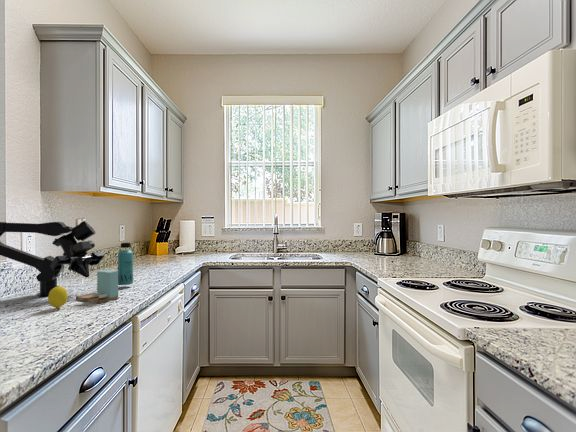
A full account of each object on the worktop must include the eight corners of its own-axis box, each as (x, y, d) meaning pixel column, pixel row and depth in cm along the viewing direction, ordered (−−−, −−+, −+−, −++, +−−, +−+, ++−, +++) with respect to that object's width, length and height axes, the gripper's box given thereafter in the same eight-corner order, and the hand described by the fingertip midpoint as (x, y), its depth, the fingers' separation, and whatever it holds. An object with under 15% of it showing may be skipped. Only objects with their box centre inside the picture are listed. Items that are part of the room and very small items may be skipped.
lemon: (57, 311, 111) (57, 287, 111) (44, 310, 112) (43, 286, 112) (71, 307, 116) (71, 284, 116) (58, 306, 117) (58, 283, 117)
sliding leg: (89, 297, 124) (89, 272, 124) (105, 294, 130) (105, 269, 130) (96, 298, 123) (96, 273, 123) (111, 294, 129) (111, 270, 129)
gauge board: (75, 299, 126) (75, 296, 126) (94, 295, 133) (94, 292, 133) (100, 303, 121) (100, 299, 121) (118, 298, 128) (118, 295, 128)
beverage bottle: (113, 287, 147) (113, 242, 147) (126, 285, 153) (126, 241, 153) (124, 289, 144) (124, 243, 144) (136, 286, 150) (136, 242, 150)
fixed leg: (96, 298, 123) (96, 273, 123) (111, 294, 129) (111, 270, 129) (102, 299, 122) (102, 273, 122) (118, 295, 128) (118, 271, 128)
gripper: (55, 235, 125) (73, 266, 120) (101, 233, 142) (118, 260, 137) (42, 254, 128) (59, 286, 124) (89, 250, 145) (105, 277, 140)
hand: (87, 276), depth 131 cm, fingers closed
